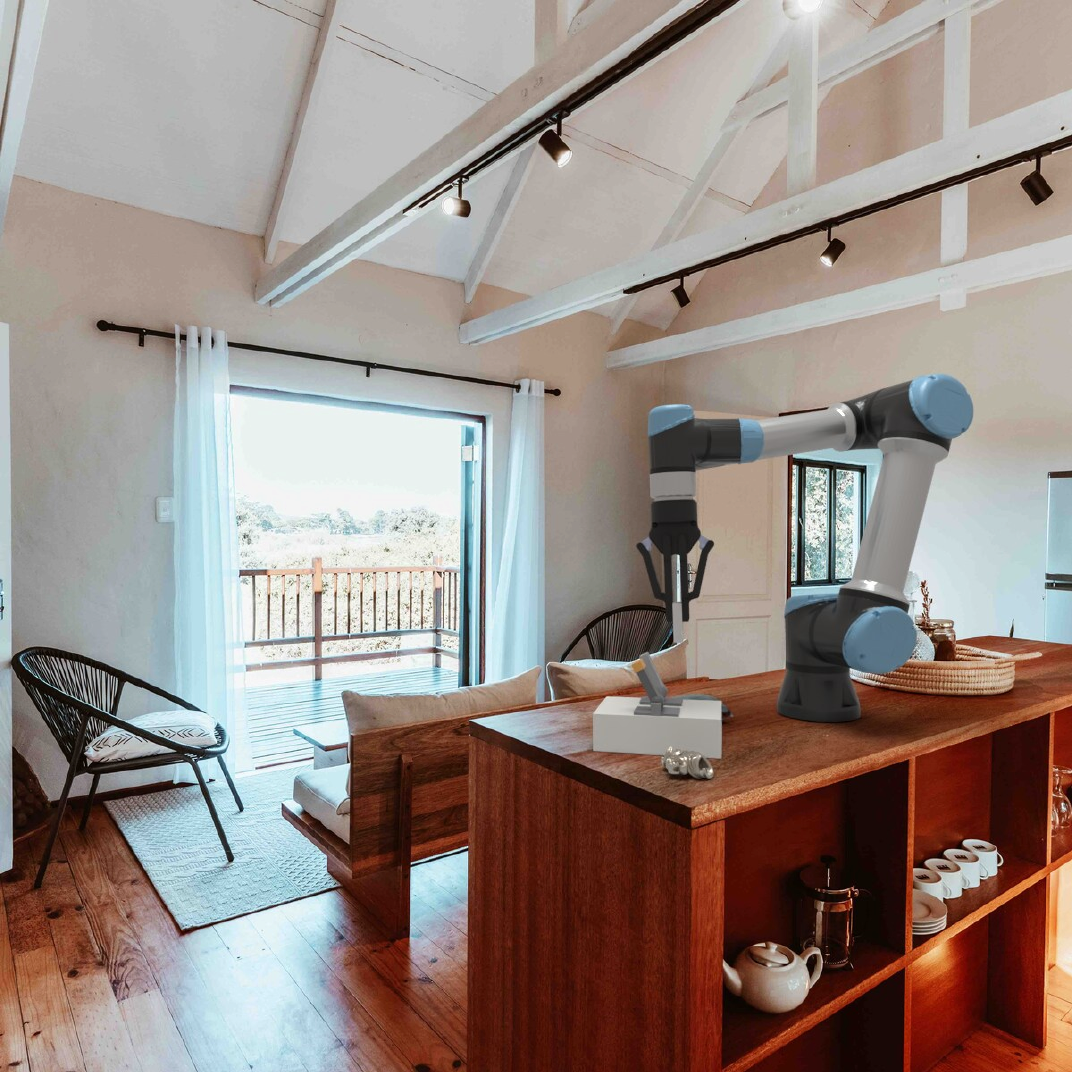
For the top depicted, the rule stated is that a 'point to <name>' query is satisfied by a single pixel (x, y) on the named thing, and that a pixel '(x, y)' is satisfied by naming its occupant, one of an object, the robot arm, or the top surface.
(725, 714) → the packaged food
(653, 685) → the lever
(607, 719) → the box
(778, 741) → the top surface
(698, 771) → the ornament
